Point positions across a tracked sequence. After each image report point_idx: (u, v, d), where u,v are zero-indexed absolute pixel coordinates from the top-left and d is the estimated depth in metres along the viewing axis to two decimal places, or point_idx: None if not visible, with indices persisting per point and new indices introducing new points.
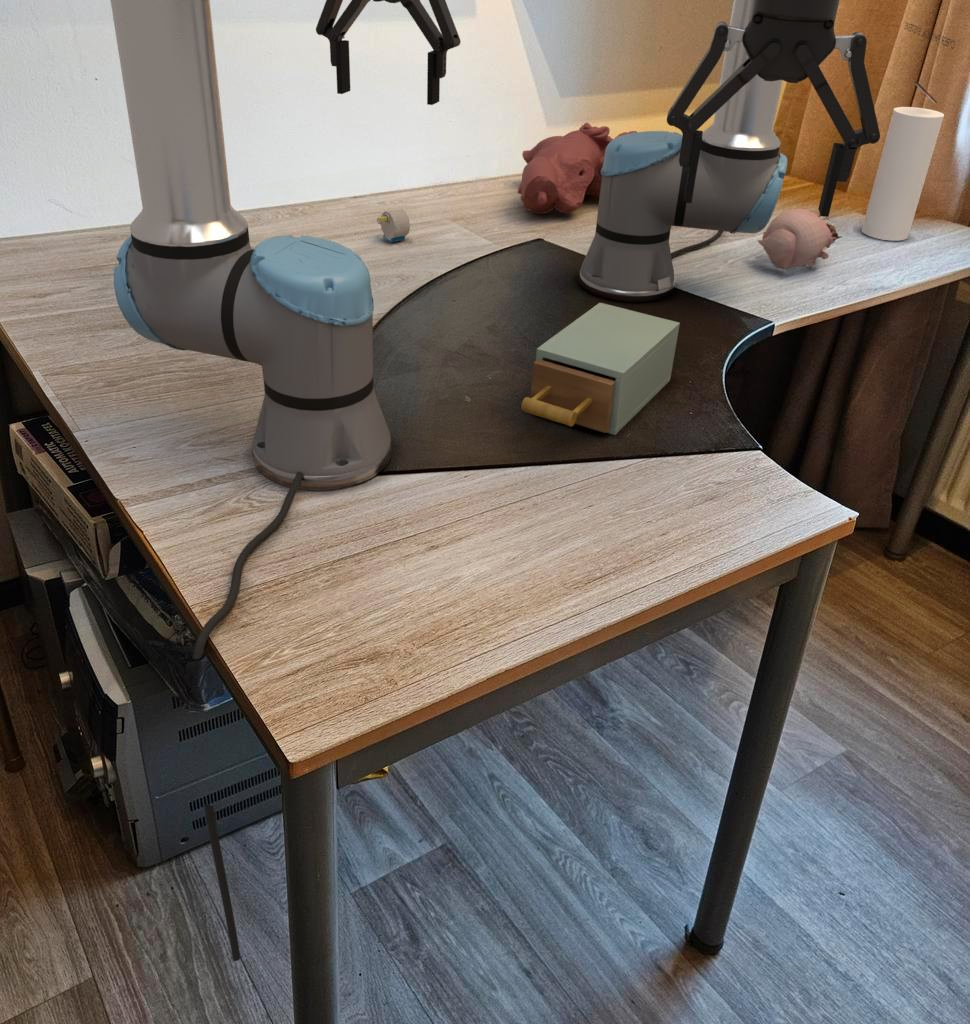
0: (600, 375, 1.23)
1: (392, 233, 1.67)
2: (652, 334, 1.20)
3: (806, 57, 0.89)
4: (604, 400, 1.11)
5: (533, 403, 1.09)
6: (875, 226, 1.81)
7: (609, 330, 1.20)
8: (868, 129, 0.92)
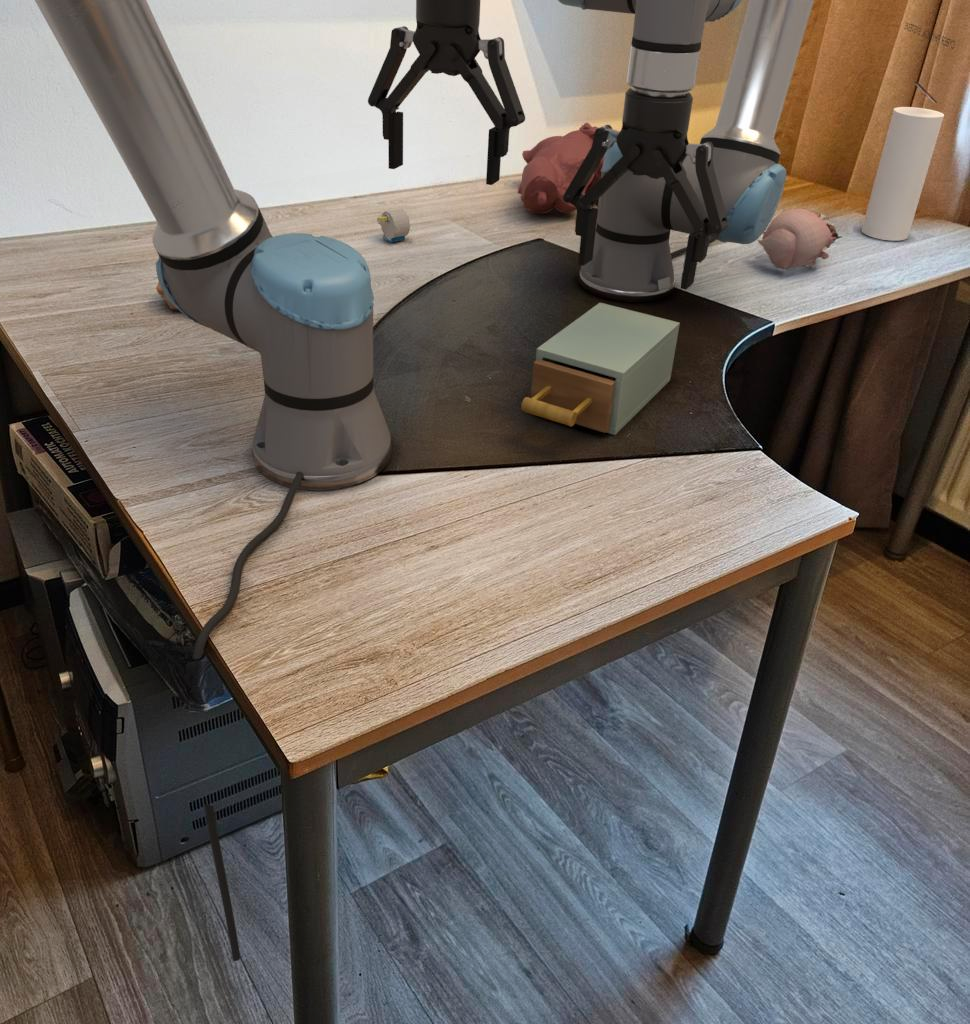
0: (600, 375, 1.23)
1: (392, 233, 1.67)
2: (652, 334, 1.20)
3: None
4: (604, 400, 1.11)
5: (533, 403, 1.09)
6: (875, 226, 1.81)
7: (609, 330, 1.20)
8: None
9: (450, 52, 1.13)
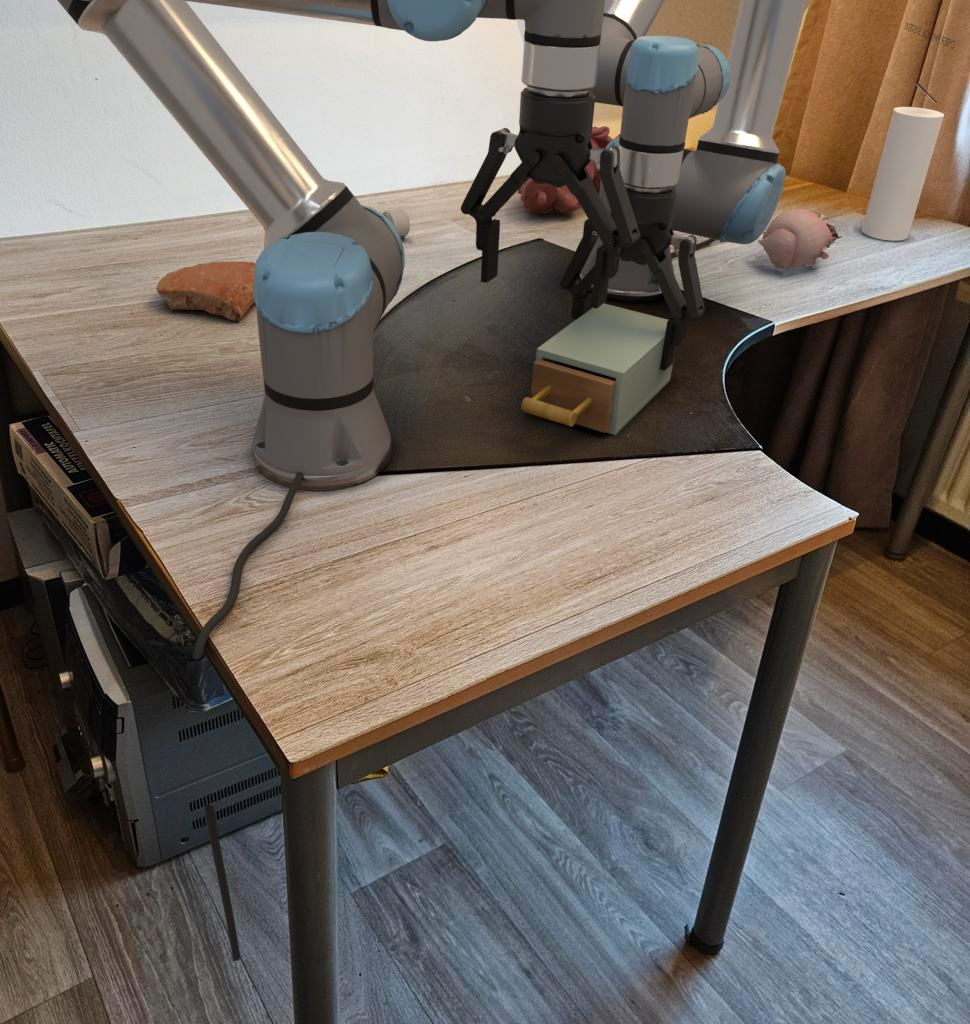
0: (600, 375, 1.23)
1: None
2: (652, 334, 1.20)
3: None
4: (604, 401, 1.11)
5: (533, 403, 1.09)
6: (875, 226, 1.81)
7: (609, 330, 1.20)
8: None
9: (556, 162, 0.98)
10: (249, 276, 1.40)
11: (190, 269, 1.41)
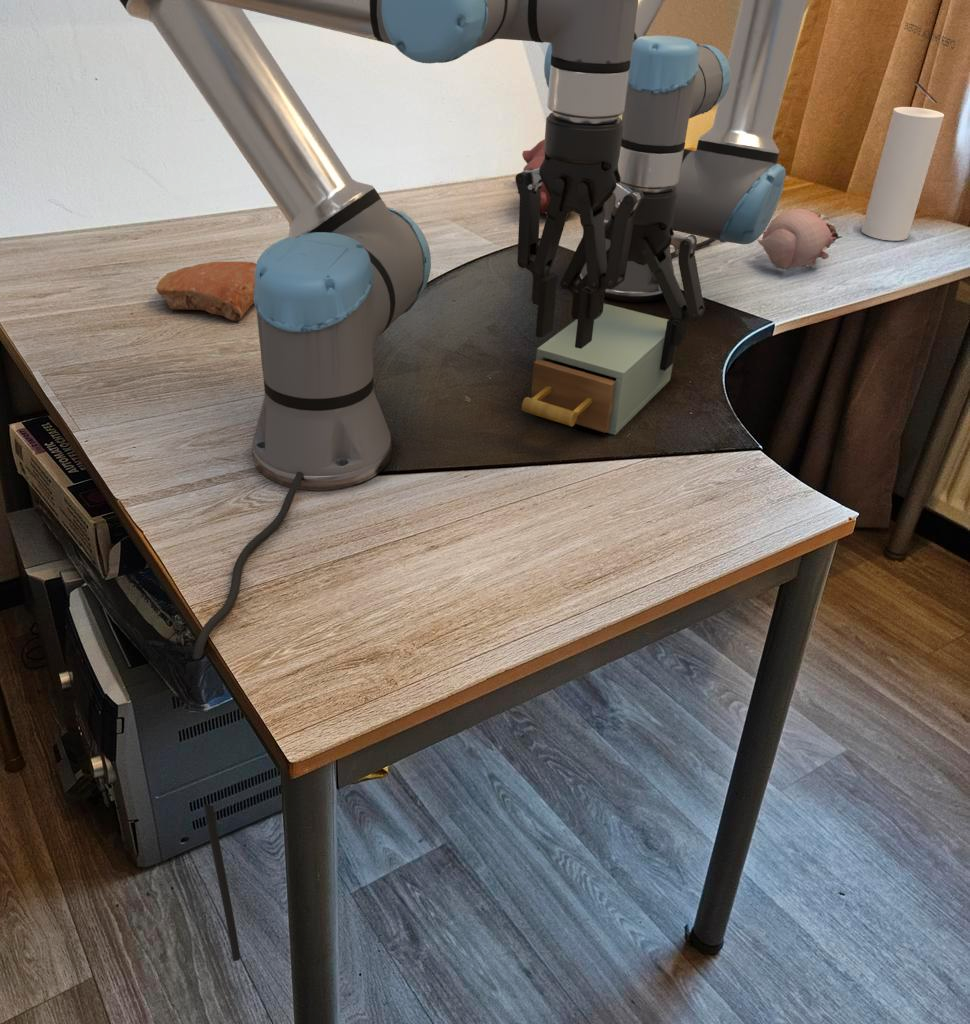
0: (600, 375, 1.23)
1: None
2: (652, 334, 1.20)
3: None
4: (604, 400, 1.11)
5: (533, 403, 1.09)
6: (875, 226, 1.81)
7: (609, 330, 1.20)
8: None
9: (582, 190, 0.95)
10: (249, 276, 1.40)
11: (190, 269, 1.41)
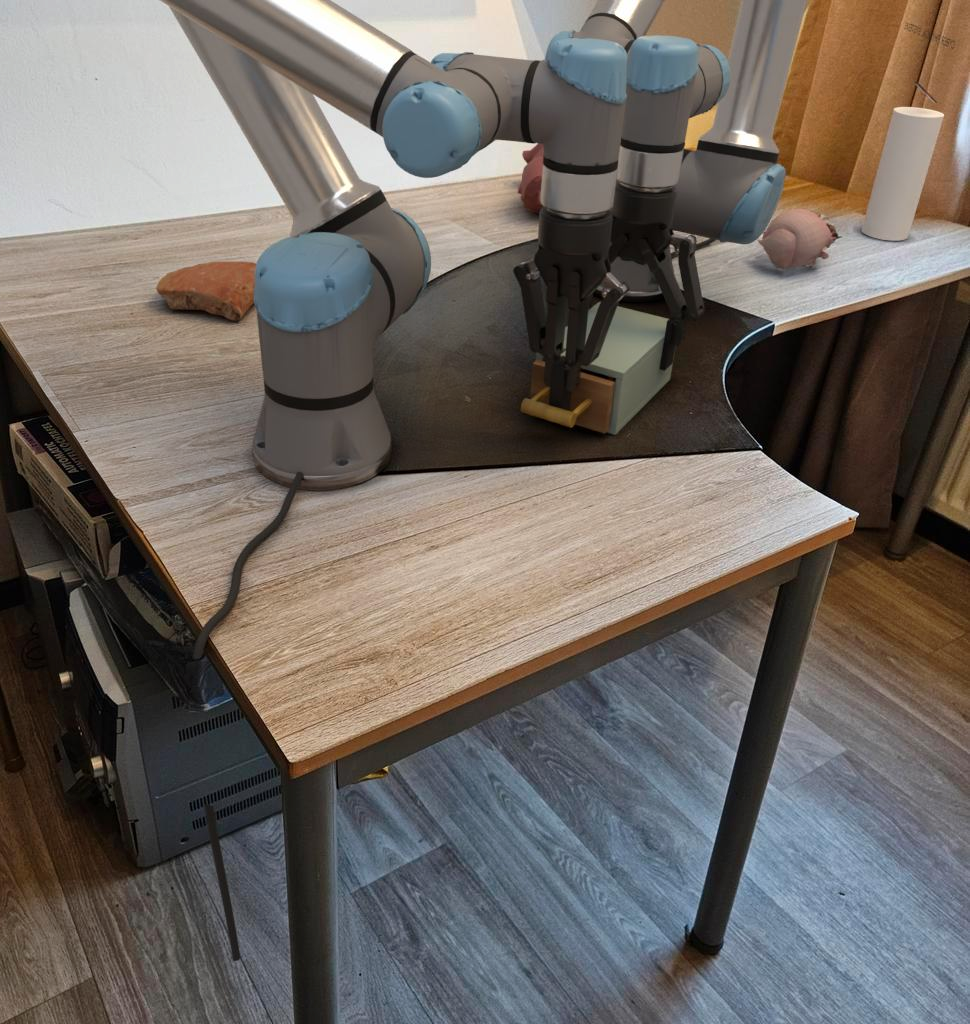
0: (599, 375, 1.23)
1: None
2: (652, 334, 1.19)
3: None
4: (604, 401, 1.11)
5: (533, 404, 1.09)
6: (875, 226, 1.81)
7: (609, 330, 1.20)
8: None
9: (574, 278, 1.00)
10: (249, 276, 1.40)
11: (190, 269, 1.41)
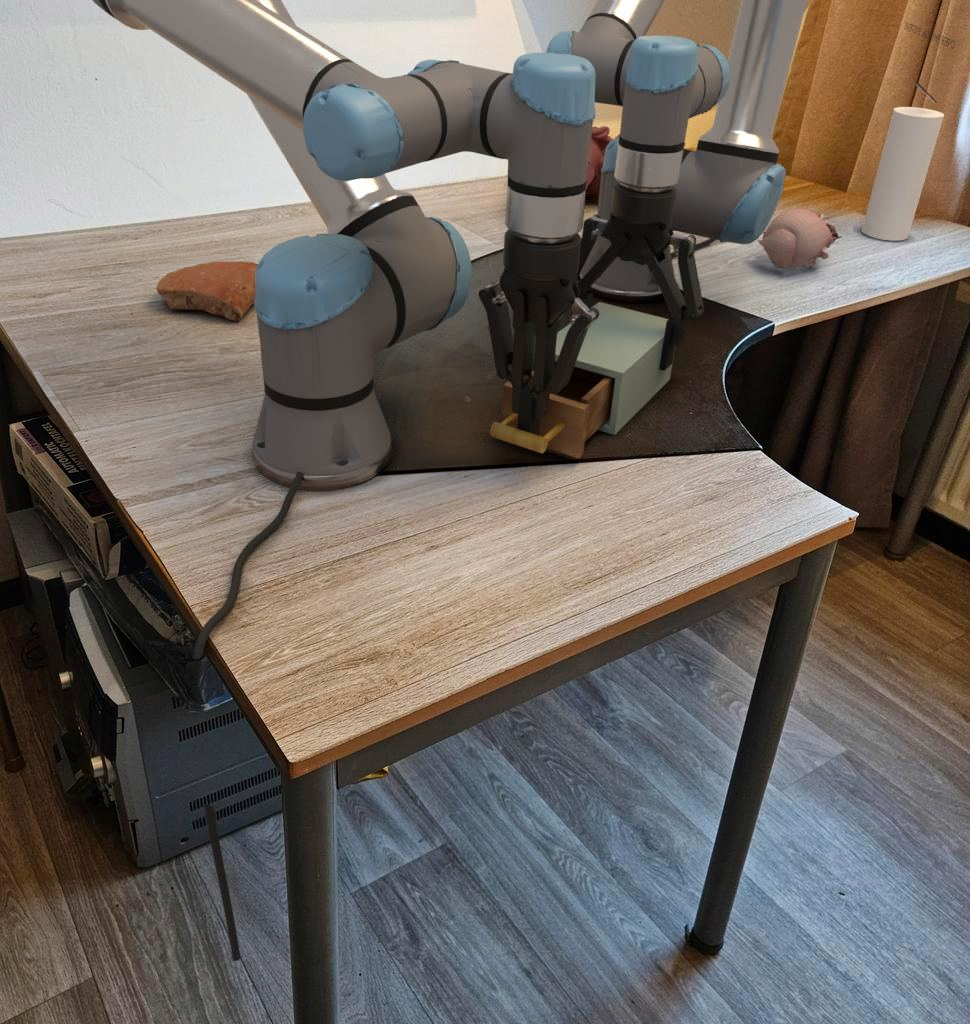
0: (576, 396, 1.18)
1: None
2: (651, 334, 1.19)
3: None
4: (577, 425, 1.06)
5: (502, 429, 1.04)
6: (875, 226, 1.81)
7: (608, 330, 1.20)
8: None
9: (541, 304, 0.95)
10: (249, 276, 1.40)
11: (190, 269, 1.41)
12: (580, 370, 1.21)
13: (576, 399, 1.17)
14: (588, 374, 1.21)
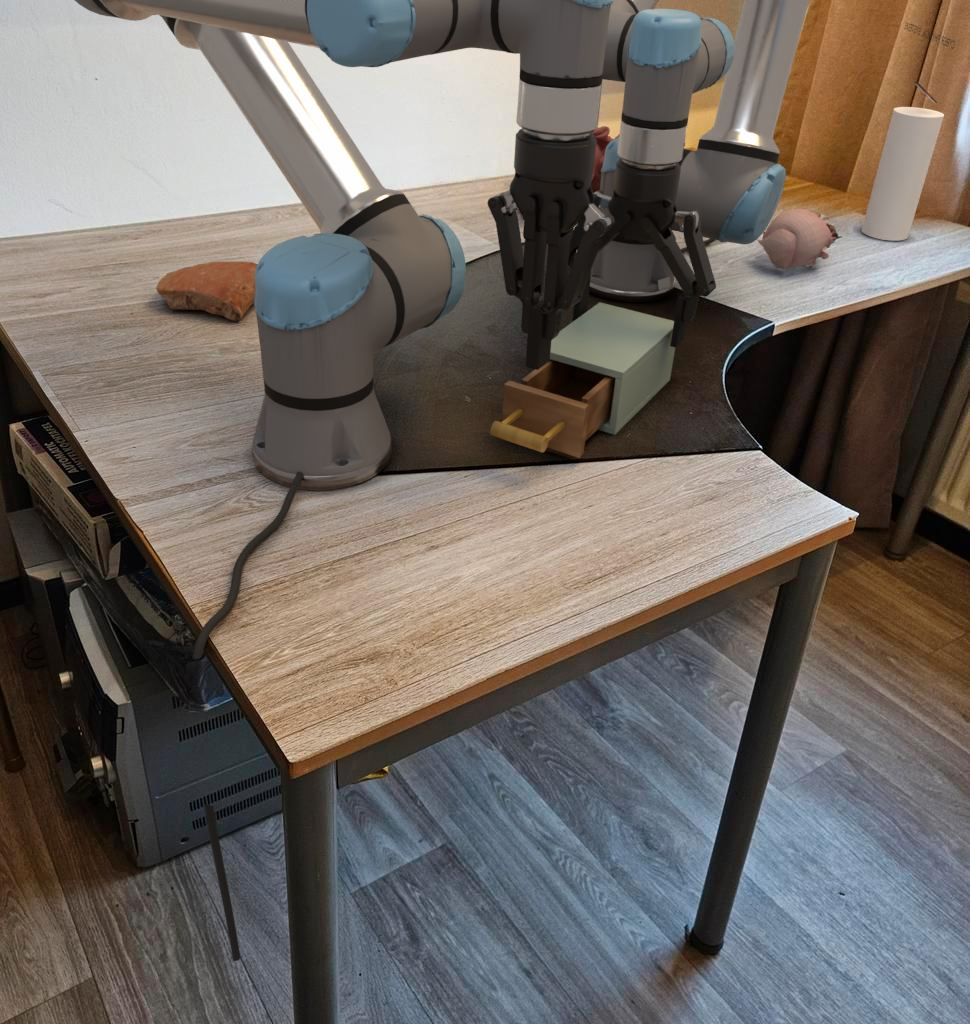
0: (576, 395, 1.18)
1: None
2: (652, 334, 1.20)
3: None
4: (577, 424, 1.06)
5: (503, 428, 1.04)
6: (875, 226, 1.81)
7: (609, 330, 1.20)
8: None
9: (553, 209, 0.91)
10: (249, 276, 1.40)
11: (190, 269, 1.41)
12: (580, 370, 1.21)
13: (576, 399, 1.17)
14: (588, 374, 1.21)
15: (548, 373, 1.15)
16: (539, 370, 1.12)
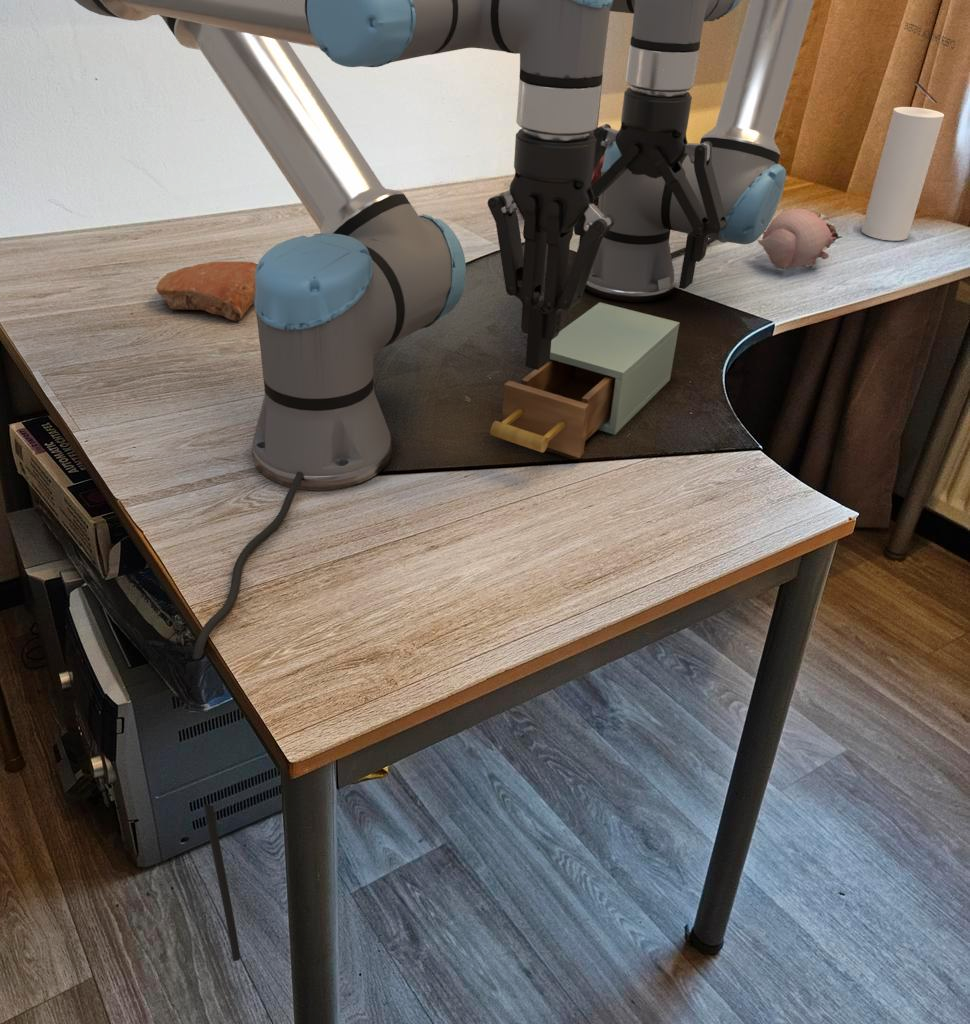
0: (576, 395, 1.18)
1: None
2: (652, 334, 1.20)
3: None
4: (577, 424, 1.06)
5: (503, 428, 1.04)
6: (875, 226, 1.81)
7: (609, 330, 1.20)
8: None
9: (553, 209, 0.91)
10: (249, 276, 1.40)
11: (190, 269, 1.41)
12: (580, 370, 1.21)
13: (576, 399, 1.17)
14: (588, 374, 1.21)
15: (548, 373, 1.15)
16: (539, 370, 1.12)
